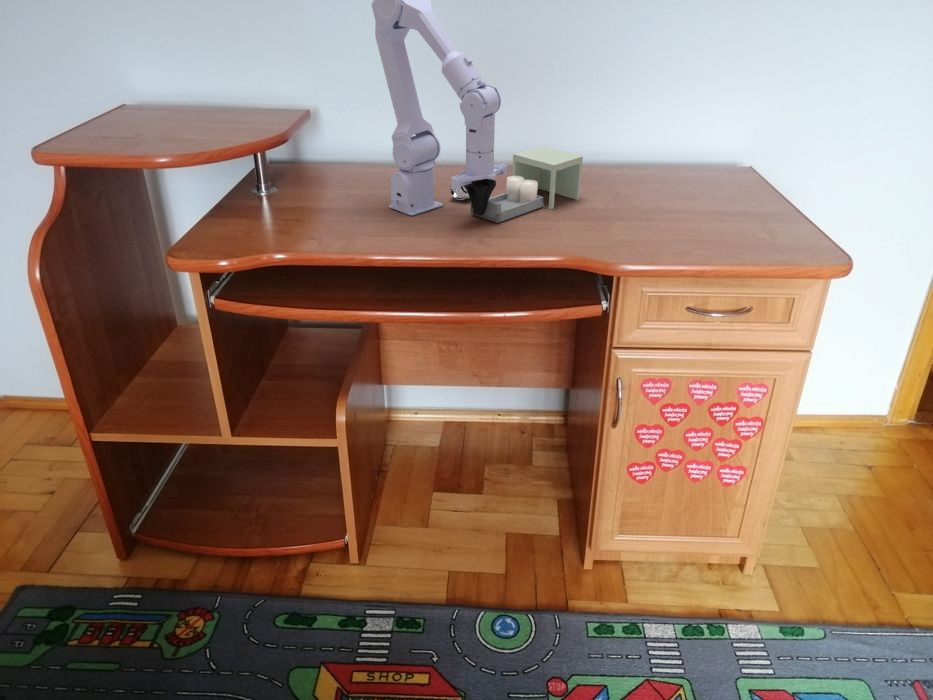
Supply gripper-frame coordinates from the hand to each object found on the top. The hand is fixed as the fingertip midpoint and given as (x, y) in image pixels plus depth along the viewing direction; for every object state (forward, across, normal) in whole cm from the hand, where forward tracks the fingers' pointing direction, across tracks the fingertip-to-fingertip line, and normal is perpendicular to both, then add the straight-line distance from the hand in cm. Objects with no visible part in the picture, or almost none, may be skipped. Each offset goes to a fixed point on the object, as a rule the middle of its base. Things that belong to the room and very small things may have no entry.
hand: (479, 213), depth 149 cm
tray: (+2, +9, 0) cm, 9 cm away
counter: (+2, +22, 0) cm, 22 cm away
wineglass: (-1, +17, +15) cm, 23 cm away
